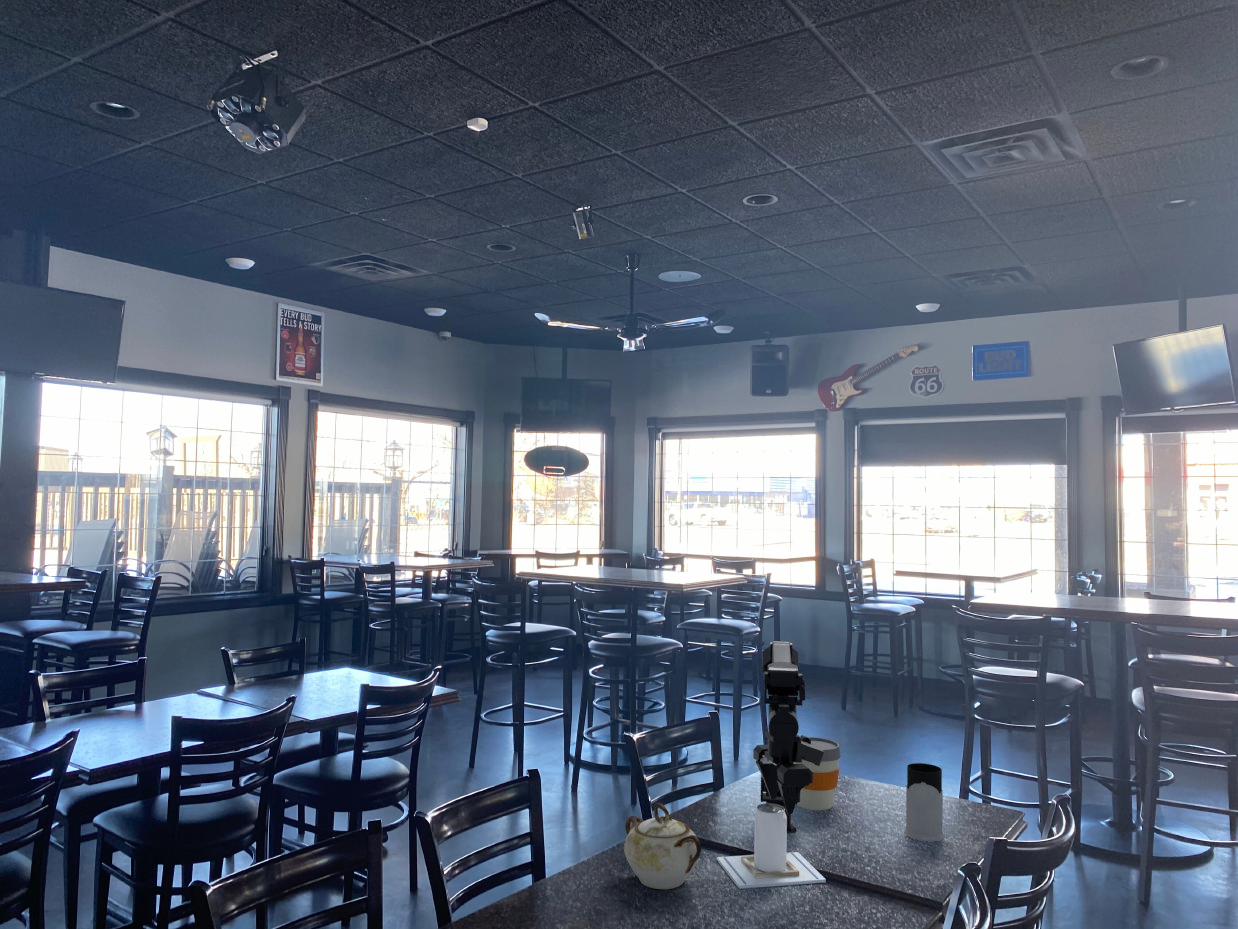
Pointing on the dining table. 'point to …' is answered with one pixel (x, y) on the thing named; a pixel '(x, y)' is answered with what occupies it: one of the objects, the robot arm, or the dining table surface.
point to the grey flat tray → (748, 880)
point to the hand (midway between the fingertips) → (781, 806)
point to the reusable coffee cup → (821, 777)
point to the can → (770, 838)
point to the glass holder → (924, 802)
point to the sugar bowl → (661, 850)
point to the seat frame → (747, 863)
